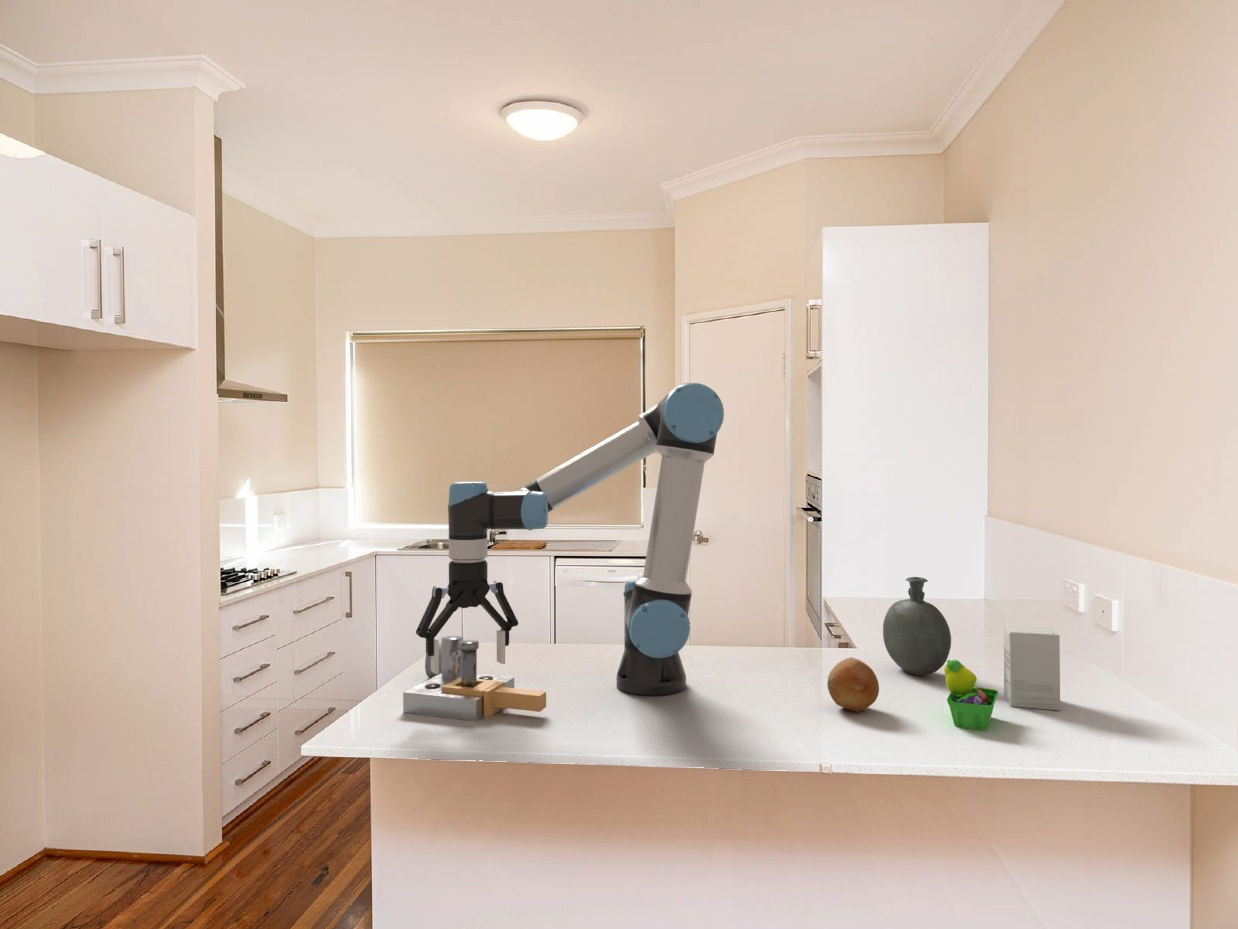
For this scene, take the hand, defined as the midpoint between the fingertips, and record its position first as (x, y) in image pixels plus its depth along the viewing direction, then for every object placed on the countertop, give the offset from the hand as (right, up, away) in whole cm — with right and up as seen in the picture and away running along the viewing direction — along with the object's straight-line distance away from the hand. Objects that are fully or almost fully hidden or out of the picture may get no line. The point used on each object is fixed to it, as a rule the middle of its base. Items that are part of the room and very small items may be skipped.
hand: (468, 667), depth 153 cm
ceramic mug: (-9, -8, +24) cm, 27 cm away
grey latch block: (-2, -8, +3) cm, 9 cm away
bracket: (+6, -8, -2) cm, 10 cm away
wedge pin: (0, -8, 0) cm, 8 cm away
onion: (+76, -8, -1) cm, 76 cm away
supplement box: (+113, -8, +3) cm, 113 cm away
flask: (+98, -8, +24) cm, 101 cm away
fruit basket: (+95, -8, -8) cm, 96 cm away
